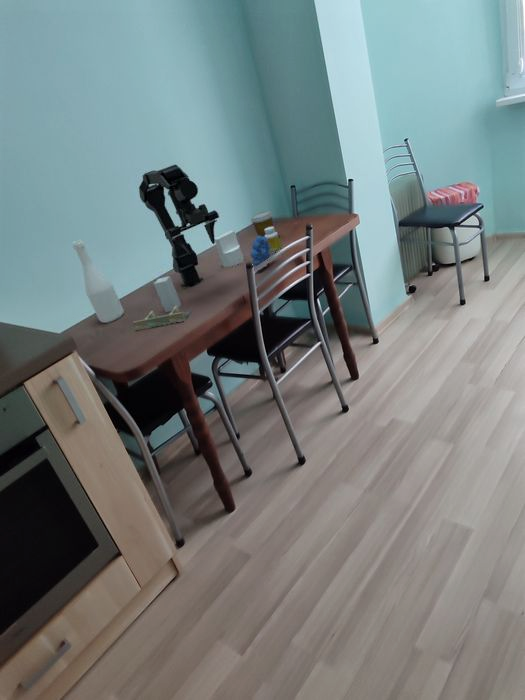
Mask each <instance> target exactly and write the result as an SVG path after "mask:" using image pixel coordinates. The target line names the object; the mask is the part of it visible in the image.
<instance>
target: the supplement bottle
mask: <svg viewBox="0 0 525 700" xmlns="http://www.w3.org/2000/svg"><path fill="white" fill-rule="evenodd" d="M264 231H265V233H266V235H265V237H266V238H267V240H268V241H267V243H269V244H270V246H271V248H270V250H269V251H268V252H269V253H270V254H271V255H272V254H276V253H275V252H277V251H278V250H280V249H281V248H282V244H281V241H280V240H281V239H280V237H279V234H278V232H277V231H275V226H273V227H268V228H266V229H264ZM277 253H278V252H277Z"/></svg>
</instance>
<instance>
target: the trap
mask: <svg viewBox="0 0 525 700" xmlns="http://www.w3.org/2000/svg"><path fill="white" fill-rule="evenodd" d="M191 313H192V311H186V312H184V311H181V312H180V309H179V308H178V307H177V306H175V307H174V309H173V310H172V311H170V313H168V314H165V315H160V316H159V315H158V316H156V315H155V313H154V310H151V311H150V312H149V313H148V315H147V316H146V317H145V318H144V319H140V320H135V321H133V322H132V324H133V327H134V328H135V331H136V330H137V331H141V330H148V329H152V327H153V328H157V327H156V326H158V327H162V326H161V325H163V326H167V325H166V324H168V325H171V323H173V324H177V323H176V322H179V323H183V322H182V321H184V322H185V321H186V320H187V319H188V318H189V316H190V315H191Z"/></svg>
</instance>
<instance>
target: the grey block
mask: <svg viewBox="0 0 525 700" xmlns="http://www.w3.org/2000/svg"><path fill="white" fill-rule="evenodd" d="M153 284H154V287H155V290H156V292H157V295H158V297H159V300H160V302H161V305H162V306H163V309H164V312H165V313H169V312H170V313H171V311H172V310H173V309H174V307H175V306H177V307H178V309H179V308H180V307H181V306H182V303H181V301H180V298H179V296H178V293H177V290H176V288H175V286H174V283H173V281H172V278H171V276H164V277H159V278H158V279H157V280H156V281H155V282H154V283H153Z"/></svg>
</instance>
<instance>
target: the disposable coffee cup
mask: <svg viewBox="0 0 525 700" xmlns="http://www.w3.org/2000/svg"><path fill="white" fill-rule="evenodd" d="M250 219H251V220H250V222H251V223H252V225H253V226H254V230H255V231H256V232H255V233H256V234H257V236H261V237H265V235H266V233H265V231H264V229H266V228H268V227H274V222H273V213H272V212H271V211H269V210H267V211H266V210H265V211H262V212H261V211H260V212H258V213H256V214H254V215H252V216H251V217H250Z"/></svg>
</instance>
